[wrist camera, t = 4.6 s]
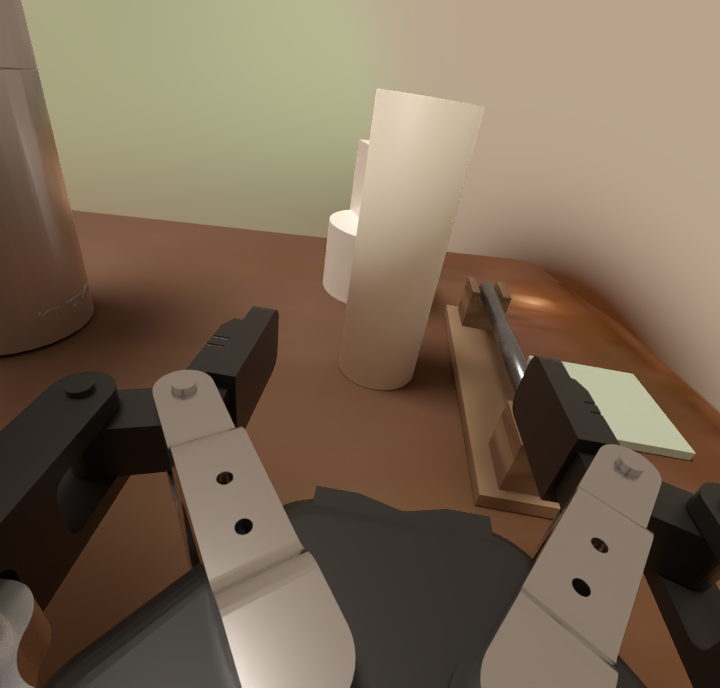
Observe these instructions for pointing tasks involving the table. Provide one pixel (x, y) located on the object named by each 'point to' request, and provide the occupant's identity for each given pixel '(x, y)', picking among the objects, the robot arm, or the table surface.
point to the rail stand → (489, 410)
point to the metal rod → (503, 334)
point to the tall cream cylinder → (403, 231)
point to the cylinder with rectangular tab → (344, 234)
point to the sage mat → (630, 411)
